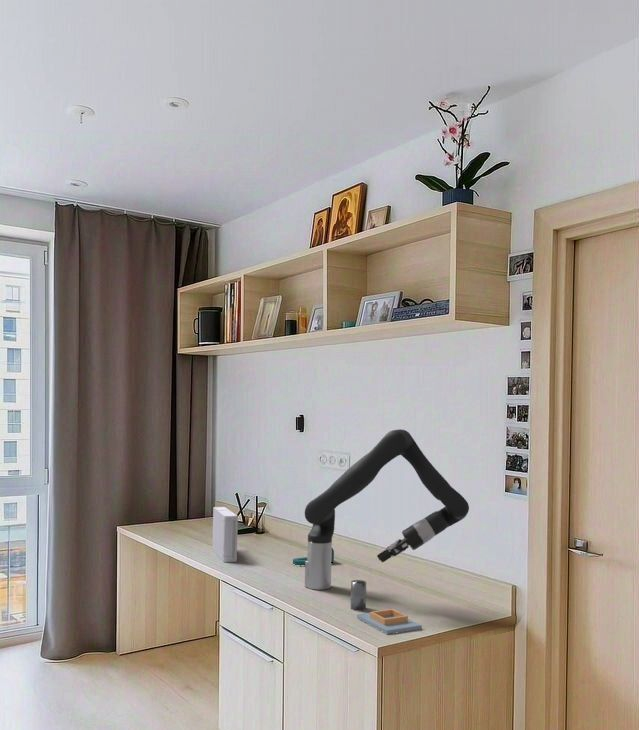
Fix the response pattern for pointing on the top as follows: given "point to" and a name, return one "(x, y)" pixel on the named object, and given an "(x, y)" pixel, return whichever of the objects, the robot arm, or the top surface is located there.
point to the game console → (225, 534)
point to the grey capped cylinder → (358, 595)
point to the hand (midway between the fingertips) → (379, 559)
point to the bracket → (302, 560)
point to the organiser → (389, 621)
